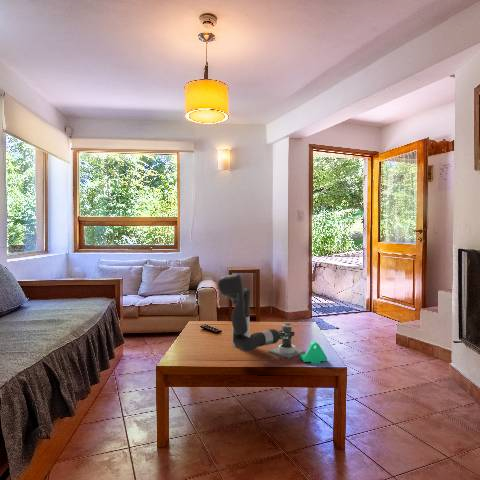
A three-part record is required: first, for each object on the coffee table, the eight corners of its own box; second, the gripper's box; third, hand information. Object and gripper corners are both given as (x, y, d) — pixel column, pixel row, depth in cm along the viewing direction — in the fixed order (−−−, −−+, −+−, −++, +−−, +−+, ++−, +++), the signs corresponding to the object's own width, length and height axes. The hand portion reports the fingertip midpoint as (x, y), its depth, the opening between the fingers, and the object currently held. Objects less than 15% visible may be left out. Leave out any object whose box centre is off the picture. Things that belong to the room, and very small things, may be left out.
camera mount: (321, 358, 198) (322, 338, 198) (327, 363, 191) (327, 342, 191) (299, 358, 197) (299, 339, 197) (304, 364, 189) (304, 343, 189)
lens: (280, 346, 206) (280, 324, 206) (285, 344, 210) (286, 322, 210) (287, 348, 202) (287, 325, 202) (293, 346, 206) (293, 324, 206)
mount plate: (268, 352, 207) (268, 346, 206) (284, 347, 216) (284, 341, 216) (288, 358, 197) (288, 351, 196) (304, 352, 206) (304, 346, 206)
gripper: (277, 333, 191) (300, 328, 202) (258, 327, 203) (280, 323, 213) (277, 347, 191) (299, 342, 202) (258, 341, 203) (280, 336, 213)
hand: (290, 332), depth 208 cm, fingers closed on lens, 5 cm apart
